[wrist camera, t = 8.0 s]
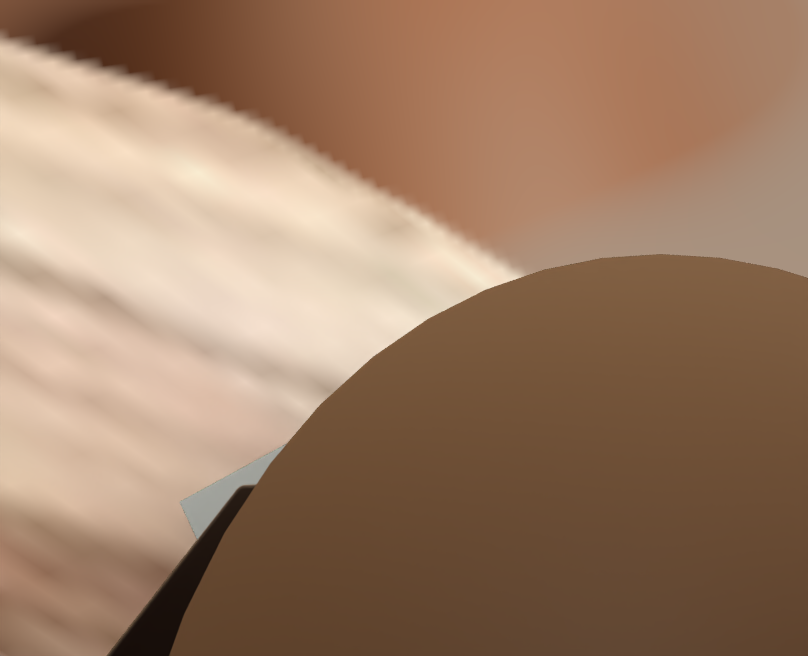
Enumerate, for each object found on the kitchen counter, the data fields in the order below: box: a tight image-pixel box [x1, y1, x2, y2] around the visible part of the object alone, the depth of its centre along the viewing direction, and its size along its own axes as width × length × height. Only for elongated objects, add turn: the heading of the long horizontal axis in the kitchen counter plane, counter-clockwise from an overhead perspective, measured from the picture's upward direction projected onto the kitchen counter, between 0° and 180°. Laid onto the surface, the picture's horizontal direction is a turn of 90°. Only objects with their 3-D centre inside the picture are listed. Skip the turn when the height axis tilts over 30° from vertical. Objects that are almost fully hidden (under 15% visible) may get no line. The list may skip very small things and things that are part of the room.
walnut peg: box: [169, 254, 808, 656], centre depth 9 cm, size 4×4×14 cm
